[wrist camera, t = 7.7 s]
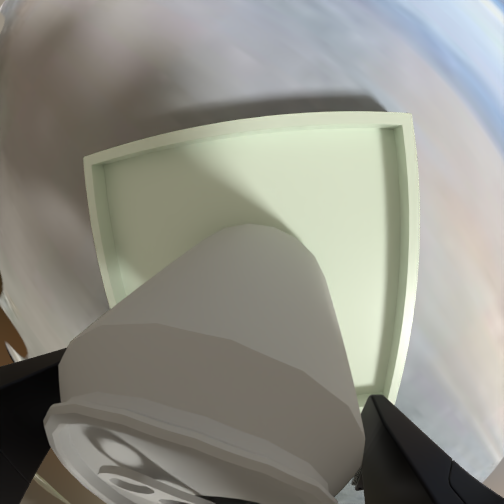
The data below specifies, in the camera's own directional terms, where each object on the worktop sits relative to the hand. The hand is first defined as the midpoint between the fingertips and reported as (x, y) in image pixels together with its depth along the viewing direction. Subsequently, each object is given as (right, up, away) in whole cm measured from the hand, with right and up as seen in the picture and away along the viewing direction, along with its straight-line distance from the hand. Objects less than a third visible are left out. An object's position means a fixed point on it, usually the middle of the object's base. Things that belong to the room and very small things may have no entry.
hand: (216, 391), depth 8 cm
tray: (+1, +2, +8) cm, 8 cm away
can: (+1, +2, +8) cm, 8 cm away
